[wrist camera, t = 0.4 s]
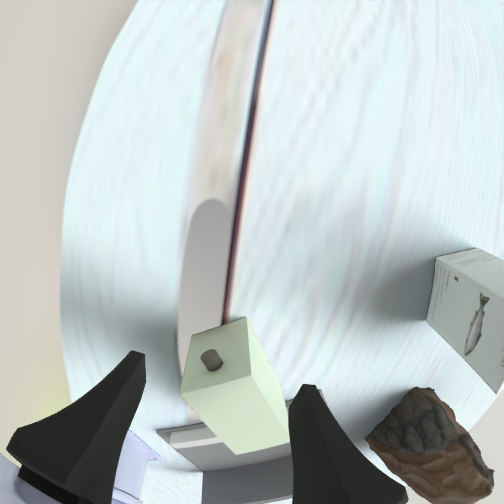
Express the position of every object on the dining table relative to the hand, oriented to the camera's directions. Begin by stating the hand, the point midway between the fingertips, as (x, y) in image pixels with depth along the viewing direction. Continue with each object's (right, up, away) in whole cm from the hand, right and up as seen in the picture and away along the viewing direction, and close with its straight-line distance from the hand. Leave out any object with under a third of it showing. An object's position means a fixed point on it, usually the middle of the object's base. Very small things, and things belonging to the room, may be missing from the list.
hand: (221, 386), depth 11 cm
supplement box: (+22, +3, +11) cm, 25 cm away
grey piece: (+2, -18, +16) cm, 24 cm away
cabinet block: (0, -4, +12) cm, 13 cm away
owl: (+23, -18, +18) cm, 34 cm away
